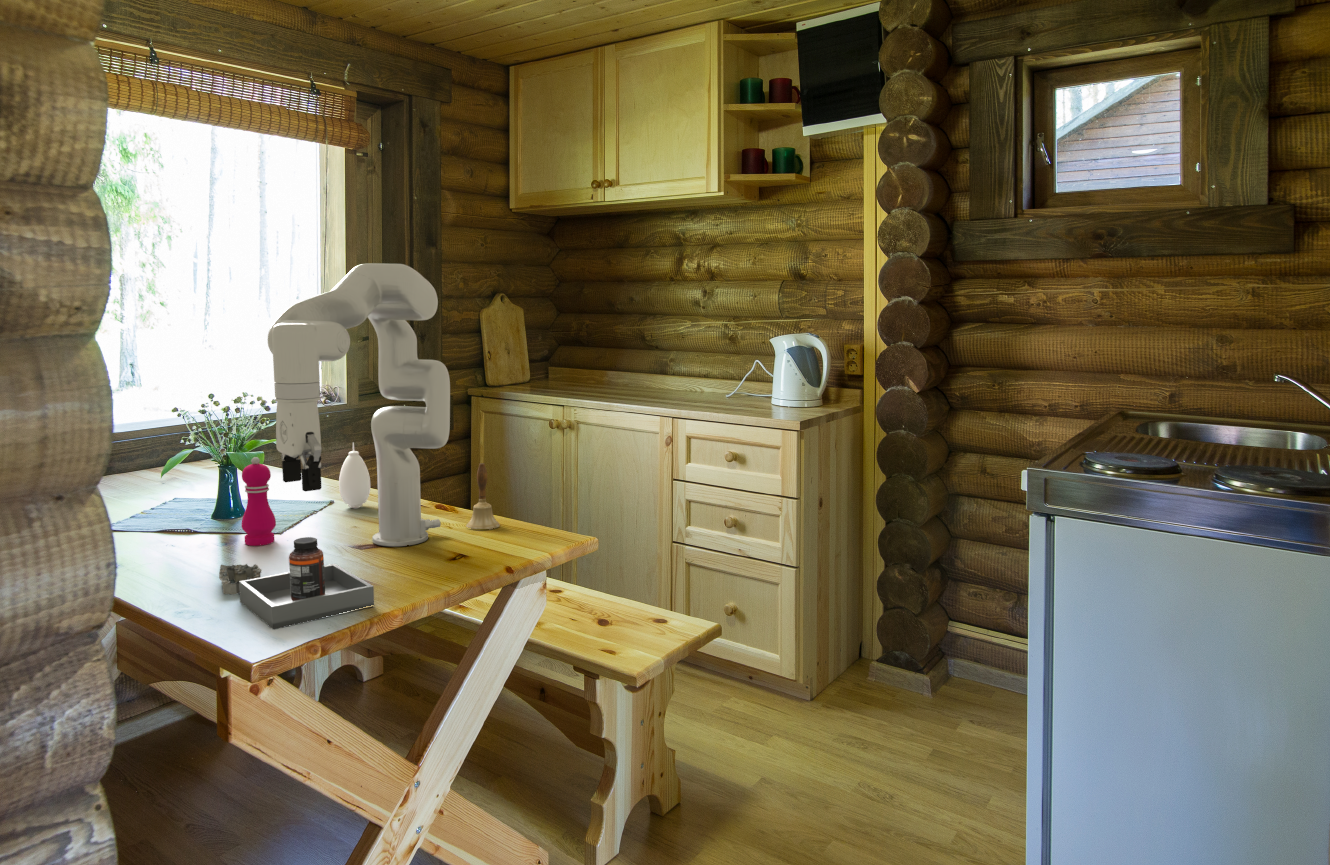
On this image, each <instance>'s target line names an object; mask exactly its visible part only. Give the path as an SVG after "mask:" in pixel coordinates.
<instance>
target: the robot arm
mask: <svg viewBox="0 0 1330 865" xmlns="http://www.w3.org/2000/svg"><path fill="white" fill-rule="evenodd" d="M438 299H439V298H438V295H437V291H436V289H435V288H434V286H433V285H432V284H431V283H430V281H429V280H428V279H427V278H425V277H424V276H423V275H422V274H421V273H420V272H418V271H417V270H415V269H414V268H412V267H411V266H409V265H407V264H403V263H383V262H382V263H380V262H379V263H378V262H377V263H375V262H372V263H369V262H368V263H361V264H358V265H356V266H354V267H353V268H352V269H351V270H349V272H348V273H347V274H345V276H344V277H343V278H342V279H341V280H340V281H339V282H338V283H337V284H336V285H335V286H334V287H333V288H332V289H331V290H330V291H327V292H326V291H325V292H323V293H320V294H317V295H315V296H313V297H311V298H310V297H309V298H308V299H305V300H302V301H300V302H296V303H295V304H293V305H291V306H288V308H286V309H285V310H284V311H283V312H282V313H281V314H280V315H279V316H278V317H277V318H276V319H275V320H274V322H273V323H272V325H271V326H270V328H269V331H268V334H267V346H268V349H269V351H270V353H271V354H272V360H273V362H272V363H273V380H274V400H275V402H277V403H276V413H275V414H276V415H275V416H276V417H275V440H276V441H275V445H276V446H275V447H276V450H277V451H278V452H279V453H281V463H282V465H281V468H282V469H281V470H282V481H283V483H291V482H292V483H293V482H299V481H301V486H302V487H301V488H302V491H303V492H311V491H320V490H321V489H322V469H321V468H322V462H321V461H322V456H321V455H322V440H321V439H322V436H321V424H320V414H319V407H318V401H320V400H321V389H320V388H321V387H320V386H321V385H320V362H335V361H339V360H341V359H342V358H344V357H345V356H346V355H347V353H348V351H349V350H350V345H351V337H350V333H349V332H348V330H347V329H351V328H355V327H357V326H360V325H362V324H363V323H364V322H365V321H366V320H367V319H368V320H369V322H370V323H371V325H372V326H373V328H374V331H375V333H376V336H377V344H378V374H377V375H378V390H379V392H380V394H381V396H382V397H384V398H385V399H387V400H392V401H393V400H394V401H411V402H413V401H415V402H424V403H425V406H412V405H411V406H410V405H409V406H407V405H406V406H405V405H395V406H394V405H390V406H384V407H381V408H379V409H377V410H376V411H375V412H374V414H373V415H372V417H371V422H370V427H371V428H370V429H371V434H372V439H373V443H374V449H375V456H376V458H375V459H376V472H377V475H376V477H377V506H378V513H377V514H378V532H377V533H376V532H375V534H373V535H372V540H371V541H372V543H373V544H375V545H377V546H382V547H408V546H407V545H409V546H414V545H418V544H422V543H424V542H426V541H428V540H429V532H427V531H429V529H436V528H440V527H441V520H440V519H439V518H437V519H430V518H428V519H424V518H422V509H421V508H422V506H421V504H422V503H421V469H420V468H421V467H420V463H419V460H418V459H417V457H416V455H415V454H414V453H413V451H412V449H441V448H442V447H444V446H445V445H446V444H447V442H448V441H449V436H450V430H451V429H450V428H451V427H450V426H451V425H450V424H451V422H450V421H451V419H450V418H451V382H450V381H451V380H450V374H449V371H448V368H447V367H446V365H445V363H443V362H441V361H440V360H435V359H421V358H420V359H419V357H418V339H417V334H416V333H415V330H413V328H412V327H411V325H410V324H409V322H407V321H427V320H429V319H432V318H433V317H434V316H435V314H436V312H437V310H438V306H439V305H438V304H439V301H438Z"/></svg>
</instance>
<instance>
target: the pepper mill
mask: <svg viewBox="0 0 1330 865" xmlns="http://www.w3.org/2000/svg"><path fill="white" fill-rule="evenodd" d="M260 462H261V460H260V458H259V457H258V456H254V457H253V458H251V460H250V463H251V464H248V465H247V466H245V467H244V468H243V469H242V472H241V479H242V481H243V483H245V485H244V488H245V490H244V492H245V493H246V494H247V503H246V508H245V511H244V512H243V516H242V519H241V529H242V530H243V531H244V532H245V535H244V544H245V545H247V546H250V547H251V546H252V547H258V546H266V545H271V544H273V543H274V542H275V534H274V532H272V531H274V529H275V528H276V525H277V521H276V517H275V514H274V512H273V511H272V508H271V506H270V504H269V501H268V491H269V490H270V488H269V486H270V484H269V483H268V482H269V481H270V479H271V476H272V475H271V470H270V468H269V467H268V466H267V465H265V464H262V463H260Z"/></svg>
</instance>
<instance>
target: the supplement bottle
mask: <svg viewBox="0 0 1330 865" xmlns="http://www.w3.org/2000/svg"><path fill="white" fill-rule="evenodd" d="M293 548H294V549H293V550H292V551H291V552H290V553H289V557H288V564H289V566H288V567H289V568H288V569H289V572H290V589H291V599H292V601H296V600H301V599H306V598H310V597H315V596H320V595H325V577H324V566H325V559H324V552H323V550H322V549H321V548H319V547H318V538H316V537H311V536H310V537H309V536H307V537H306V536H305V537H299V538H296V539H295V540H294V541H293Z"/></svg>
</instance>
